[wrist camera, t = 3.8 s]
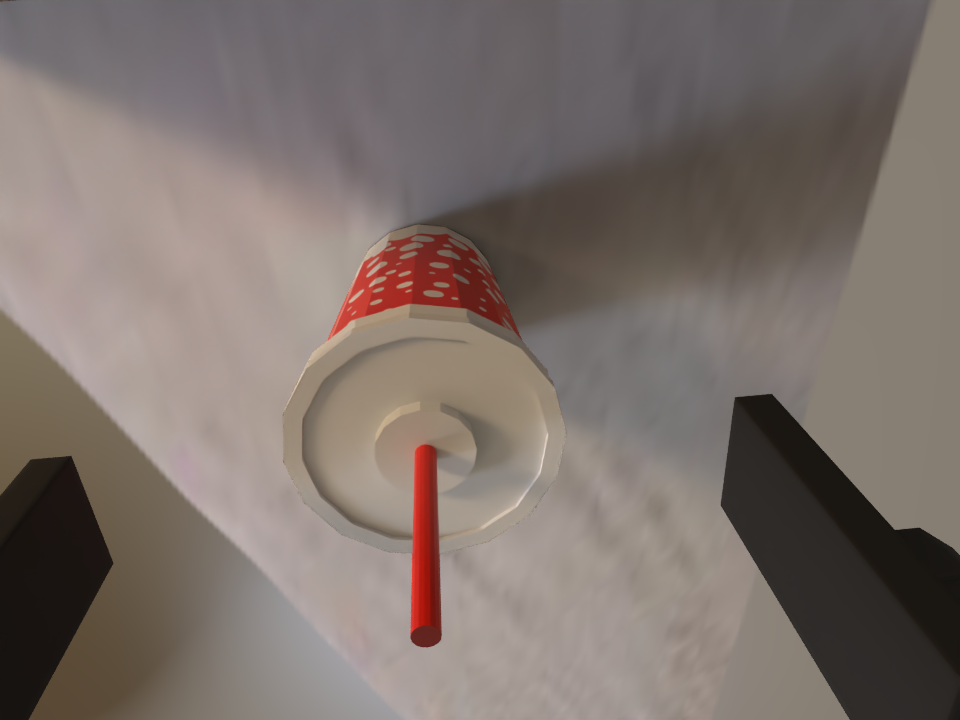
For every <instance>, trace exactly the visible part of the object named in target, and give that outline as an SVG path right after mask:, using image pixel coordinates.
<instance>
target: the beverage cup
mask: <svg viewBox="0 0 960 720" xmlns="http://www.w3.org/2000/svg"><path fill="white" fill-rule="evenodd" d="M565 438H566V430H565V426H564V422H563V418H562V414H561V411H560V407H559V403H558V399H557V395H556V391H555V387H554V384H553V381H552V380H551V379H550V378H549V375H548V371H547V369H546V368H545V367H544V366H543V365H542V363H541V362H540V361H539V360H538V359H537V358H536V356H535V355H534V354H533V353H532V352H531V351H530V349H529V348H528V347H527V346H526V345H525V343H524V342H523V341H522V339H521V336H520V334H519V332H518V329H517V327H516V325H515V323H514V320H513V318H512V316H511V313H510V311H509V309H508V307H507V304H506V302H505V300H504V297H503V295H502V293H501V290H500V288H499V286H498V284H497V281H496V279H495V277H494V274H493V272H492V270H491V268H490V265H489V263H488V261H487V260H486V258H485V257H484V256H483V255H482V254H481V252H480V251H479V250H478V249H477V248H476V246H475V245H474V244H473V243H472V241H471V240H469V239H467V238H465V237H463V236H461V235H460V234H458V233H456V232H454V231H452V230H450V229H448V228H446V227H438V226H428V225H418V224H417V225H414V226H410V227H407V228H403V229H400V230H396V231H393V232H390V233H389V234H387V235H386V236H385V237H384V238H383V239H381V240H380V241H379V242H378V243H376V244H375V245H374V246H373V247H371V248H370V249H369V250H368V252H367V254H366V256H365V258H364V260H363V262H362V264H361V266H360V268H359V270H358V272H357V274H356V276H355V278H354V280H353V283H352V285H351V287H350V290H349V292H348V294H347V296H346V299H345V301H344V303H343V306H342V308H341V310H340V312H339V315H338V317H337V319H336V322H335V324H334V326H333V328H332V331H331V333H330V335H329V338H328V340H327V342H325V343H324V344H323V345H321V346H320V347H319V348H318V349H316V350H315V351H314V352H313V353H312V355H311V357H310V359H309V361H308V363H307V365H306V367H305V369H304V371H303V373H302V375H301V377H300V379H299V381H298V382H297V384H296V386H295V388H294V390H293V392H292V394H291V397H290V399H289V401H288V403H287V405H286V407H285V410H284V413H283V462H284V464H285V466H286V468H287V470H288V472H289V474H290V476H291V478H292V480H293V482H294V484H295V486H296V488H297V490H298V492H299V494H300V496H301V498H302V500H303V502H304V504H305V505H307V506H308V507H309V508H310V509H311V510H313V511H314V512H315V513H316V514H317V515H319V516H320V517H321V518H322V519H323V520H324V521H326V522H327V523H328V524H329V525H330V526H332V527H333V528H334V529H335V530H336V531H338V532H339V533H340V534H341V535H343V536H346V537H349V538H351V539H354V540H357V541H360V542H362V543H365V544H368V545H371V546H373V547H376V548H379V549H381V550H384V551H387V552H395V553H412V595H411V640H412V642H413V643H414V644H415V645H417V646H420V647H431V646H434V645H436V644H437V643H438V642H439V641H440V640H441V635H442V632H441V594H440V557H439V554H444V553H447V552H451V551H455V550H459V549H463V548H467V547H470V546H474V545H478V544H482V543H486V542H489V541H490V540H492V539H494V538H495V537H497V536H498V535H500V534H501V533H503V532H504V531H506V530H507V529H509V528H511V527H512V526H514V525H515V524H517V523H518V522H520V521H521V520H523V519H525V518H526V517H528V516H529V515H530V514H531V512H532V511H533V510H534V508H535V507H536V506H537V504H538V503H539V502H540V500H541V499H542V497H543V496H544V495H545V493H546V492H547V491H548V489H549V488H550V487H551V485H552V484H553V483H554V481H555V480H556V478H557V475H558V470H559V466H560V461H561V456H562V452H563V447H564V442H565Z"/></svg>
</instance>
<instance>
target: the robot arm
mask: <svg viewBox="0 0 960 720" xmlns="http://www.w3.org/2000/svg"><path fill="white" fill-rule="evenodd" d="M721 507H722V508H723V510H724V512H725V513H726V515H727V516H728V518H729V520H730V521H731V523H732V525H733V526H734V528H735V530H736V531H737V533H738V535H739V536H740V538H741V540H742V541H743V543H744V545H745V546H746V548H747V550H748V551H749V553H750V555H751V556H752V558H753V560H754V561H755V563H756V565H757V566H758V568H759V570H760V571H761V573H762V575H763V576H764V578H765V580H766V581H767V583H768V585H769V586H770V588H771V590H772V591H773V593H774V595H775V596H776V598H777V600H778V601H779V603H780V604H781V606H782V608H783V609H784V611H785V613H786V614H787V616H788V618H789V619H790V621H791V623H792V624H793V626H794V628H795V629H796V631H797V633H798V634H799V636H800V638H801V639H802V641H803V643H804V644H805V646H806V648H807V649H808V651H809V653H810V654H811V656H812V658H813V659H814V661H815V662H816V664H817V666H818V668H819V669H820V671H821V673H822V674H823V676H824V678H825V679H826V681H827V683H828V684H829V686H830V687H831V689H832V691H833V692H834V694H835V696H836V697H837V699H838V701H839V703H840V704H841V706H842V707H843V709H844V711H845V713H846V714H847V716H848V717H849V719H850V720H960V555H959V554H958V553H957V552H956V551H955V550H954V549H953V548H952V547H950V546H949V545H947V544H945V543H944V542H942V541H940V540H939V539H937V538H936V537H934V536H932V535H931V534H929V533H927V532H926V531H924V530H922V529H921V528H912V529H901V530H894V529H893V527H891V525H890V524H889V523H888V522H887V521H886V520H885V519H884V518H883V517H882V515H881V514H880V513H879V512H878V511H877V510H876V509H875V508H874V506H873V505H872V504H871V503H870V502H869V501H868V500H867V499H866V498H865V496H864V495H863V494H862V493H861V492H860V491H859V490H858V489H857V488H856V487H855V485H854V484H853V483H852V482H851V481H850V480H849V479H848V478H847V477H846V476H845V475H844V473H843V472H842V471H841V470H840V469H839V468H838V467H837V466H836V464H835V463H834V462H833V461H832V460H831V459H830V458H829V457H828V456H827V454H826V453H825V452H824V451H823V450H822V449H821V448H820V447H819V446H818V444H816V442H815V441H814V440H813V439H812V438H811V437H810V436H809V435H808V433H807V432H806V431H805V430H804V429H803V428H802V427H801V426H800V425H799V423H798V422H797V421H796V420H795V419H794V418H793V417H792V416H791V415H790V413H789V412H788V411H787V410H786V409H785V408H784V407H783V406H782V405H781V404H780V402H779V401H778V400H777V399H776V398H775V397H774V396H773V395H772V394H767V395H756V396H744V397H735V401H734V408H733V416H732V424H731V431H730V439H729V446H728V454H727V461H726V469H725V477H724V484H723V492H722V499H721ZM112 565H113V561H112V558H111V556H110V554H109V551H108V548H107V546H106V543H105V541H104V538H103V535H102V533H101V531H100V528H99V525H98V523H97V520H96V518H95V515H94V513H93V510H92V507H91V505H90V502H89V500H88V497H87V495H86V492H85V490H84V487H83V485H82V482H81V480H80V477H79V474H78V472H77V469H76V467H75V464H74V462H73V459H72V457H71V456H66V457H55V458H45V459H44V458H43V459H32V460H30V461H29V463H28V464H27V465H26V466H25V467H24V468H23V469H22V471H21V472H20V473H19V474H18V475H17V477H16V478H15V479H14V480H13V481H12V482H11V484H10V485H9V486H8V487H7V489H6V490H5V491H4V492H3V493H2V494H1V495H0V720H28V719H29V718H30V716H31V714H32V712H33V710H34V709H35V706H36V705H37V703H38V701H39V699H40V697H41V696H42V694H43V692H44V690H45V688H46V686H47V685H48V683H49V681H50V679H51V677H52V675H53V674H54V672H55V670H56V668H57V666H58V664H59V662H60V661H61V659H62V657H63V655H64V653H65V651H66V650H67V648H68V646H69V644H70V642H71V640H72V638H73V636H74V635H75V633H76V631H77V629H78V627H79V625H80V624H81V622H82V620H83V618H84V616H85V615H86V613H87V611H88V609H89V607H90V605H91V604H92V601H93V600H94V598H95V596H96V594H97V593H98V591H99V589H100V587H101V585H102V583H103V581H104V580H105V578H106V576H107V574H108V572H109V570H110V568H111V567H112Z"/></svg>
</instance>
